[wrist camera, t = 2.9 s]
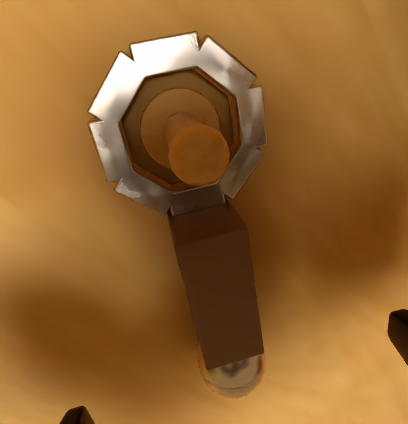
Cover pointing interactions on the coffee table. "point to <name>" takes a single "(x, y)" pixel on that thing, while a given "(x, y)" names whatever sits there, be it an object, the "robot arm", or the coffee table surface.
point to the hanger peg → (185, 136)
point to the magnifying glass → (197, 201)
